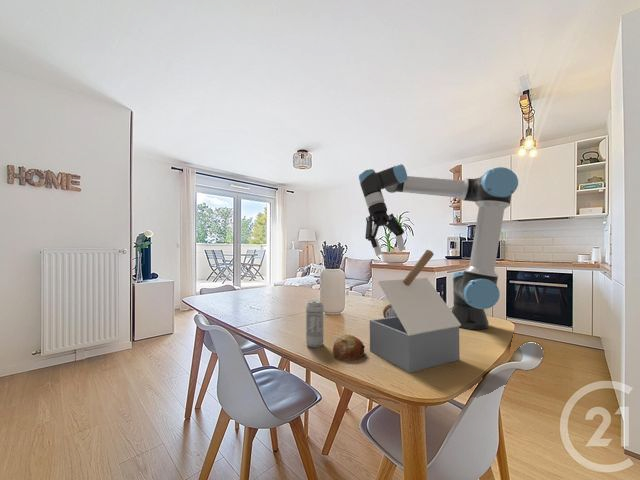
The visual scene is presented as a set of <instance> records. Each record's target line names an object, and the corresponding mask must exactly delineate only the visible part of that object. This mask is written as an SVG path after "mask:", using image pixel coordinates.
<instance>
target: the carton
mask: <svg viewBox="0 0 640 480" xmlns="http://www.w3.org/2000/svg"><path fill="white" fill-rule="evenodd" d="M369 351H370V352H371V353H374V354H375V355H377V356H378V357H380V358H382V359H383V360H386V362H387V361H388V362H389V363H391V364H393V365H395V366H397V367H398V368H400V369H401V370H403V371H405V372H407V373H408V374H409V373H415V372H418V371H419V372H420V371H421V370H425V369H429V368H433V367H436V366H441V365H445V364H448V363H452V362H457V361H459V360H460V358H461V357H460V327H453V328H448V329H443V330H437V331H432V332H426V333H421V334H416V335H410V336H408V334H407V332H406V330H405V329H404V327H403V325H402V323H401V322H400V320H399V318H398V316H396V317H389V318H384V317H383V318H377V319H376V318H375V319H370V320H369Z"/></svg>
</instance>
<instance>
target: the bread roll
mask: <svg viewBox="0 0 640 480" xmlns="http://www.w3.org/2000/svg"><path fill="white" fill-rule="evenodd" d="M332 354H333V355H334V357H335V358H337V359H338V358H339V360H345V361H349V360H359V359H361V358H362V357H363V356H364V354H365V345H364V342H362V340H361V339H359V338H358V337H356V336H355V335H351V334H347V333H346V334H345V333H344V334H342V335H340V336H338V337H337V338H336V340H335V341H334V343H333V347H332Z"/></svg>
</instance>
